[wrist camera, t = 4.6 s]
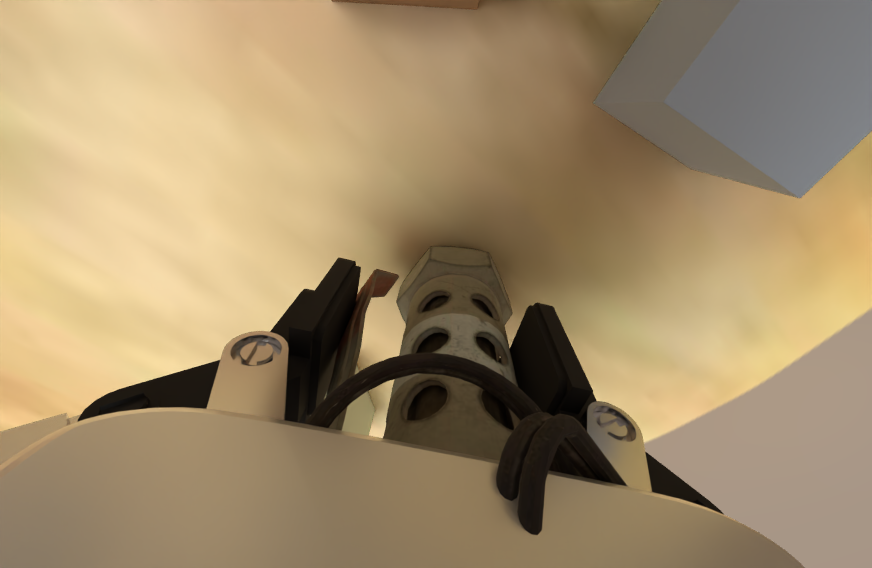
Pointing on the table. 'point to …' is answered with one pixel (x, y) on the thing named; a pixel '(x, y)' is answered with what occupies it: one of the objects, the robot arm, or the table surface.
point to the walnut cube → (424, 3)
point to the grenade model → (461, 380)
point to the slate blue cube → (750, 87)
